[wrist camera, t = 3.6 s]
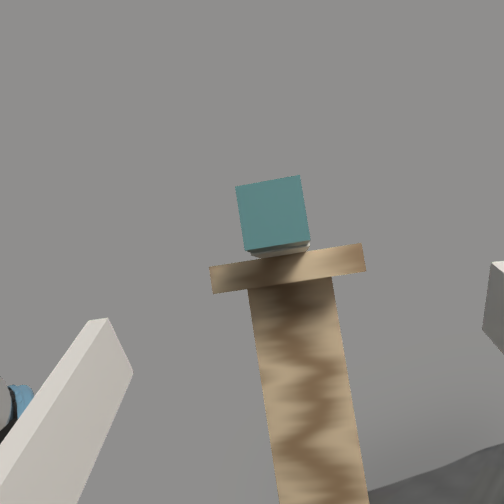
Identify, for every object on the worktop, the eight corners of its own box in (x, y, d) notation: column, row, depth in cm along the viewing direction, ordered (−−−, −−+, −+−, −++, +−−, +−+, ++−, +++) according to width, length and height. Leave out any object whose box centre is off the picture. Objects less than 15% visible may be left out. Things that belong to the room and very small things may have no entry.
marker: (243, 253, 16) (232, 184, 16) (272, 261, 37) (267, 232, 37) (312, 241, 15) (301, 172, 16) (302, 257, 36) (297, 227, 36)
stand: (272, 705, 23) (209, 266, 25) (279, 557, 35) (235, 267, 37) (441, 702, 22) (361, 242, 24) (389, 551, 34) (338, 251, 36)
